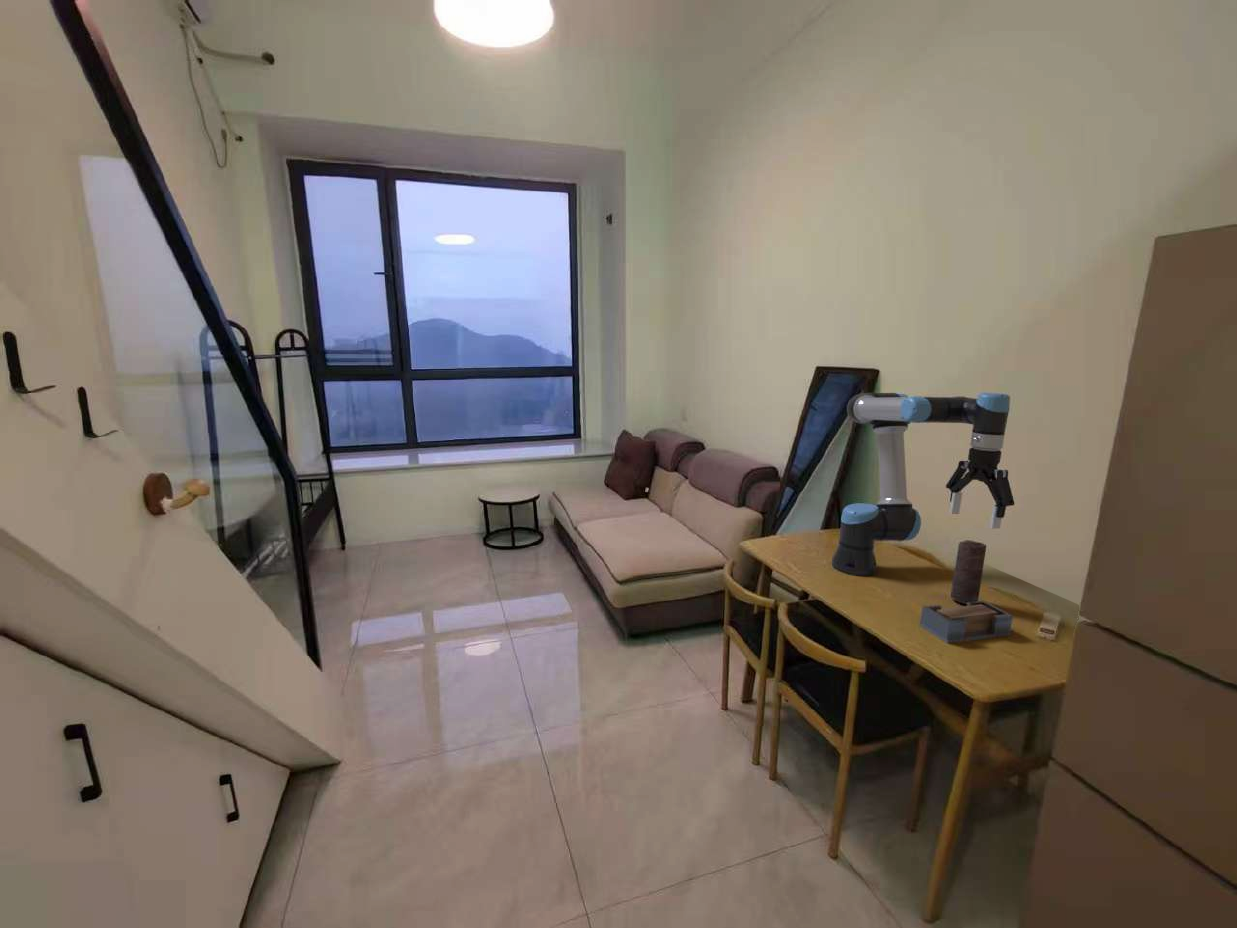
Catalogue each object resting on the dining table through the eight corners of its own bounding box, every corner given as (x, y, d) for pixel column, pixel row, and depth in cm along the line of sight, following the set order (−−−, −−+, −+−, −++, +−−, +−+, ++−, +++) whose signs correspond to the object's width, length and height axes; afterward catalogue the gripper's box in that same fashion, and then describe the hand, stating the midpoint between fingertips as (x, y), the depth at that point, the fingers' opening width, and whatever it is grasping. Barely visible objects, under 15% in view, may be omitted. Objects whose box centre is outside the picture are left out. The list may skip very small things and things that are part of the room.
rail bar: (934, 626, 150) (936, 609, 149) (978, 620, 155) (981, 604, 154) (949, 635, 146) (951, 618, 145) (994, 628, 150) (997, 612, 149)
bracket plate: (919, 624, 153) (921, 605, 152) (979, 618, 158) (982, 599, 156) (947, 643, 143) (950, 622, 142) (1010, 635, 148) (1013, 616, 147)
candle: (963, 608, 164) (974, 547, 160) (943, 598, 171) (953, 539, 166) (983, 606, 166) (993, 545, 162) (962, 595, 173) (972, 537, 169)
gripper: (939, 441, 160) (929, 508, 164) (1016, 457, 136) (1002, 535, 141) (959, 441, 162) (949, 507, 166) (1039, 456, 138) (1025, 534, 142)
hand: (973, 520), depth 153 cm, fingers open, 13 cm apart
